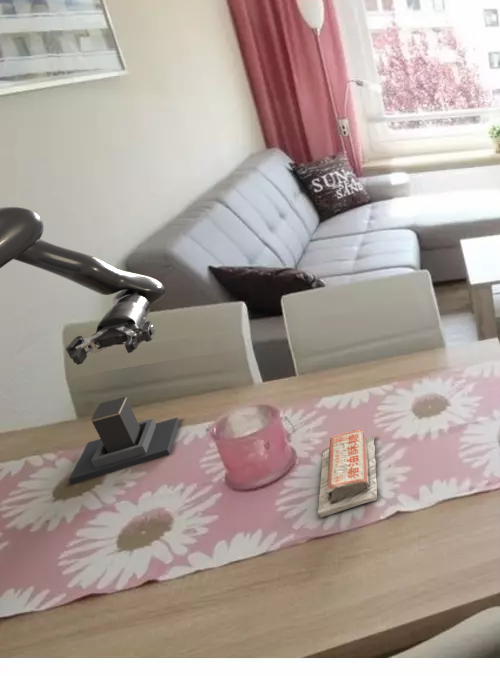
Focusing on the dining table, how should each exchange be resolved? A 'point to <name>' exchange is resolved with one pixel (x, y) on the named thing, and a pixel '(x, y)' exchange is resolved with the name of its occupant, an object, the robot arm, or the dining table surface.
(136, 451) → the base pad
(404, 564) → the dining table surface
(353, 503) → the packaged product
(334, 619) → the dining table surface
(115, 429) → the black box
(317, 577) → the dining table surface
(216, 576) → the dining table surface
